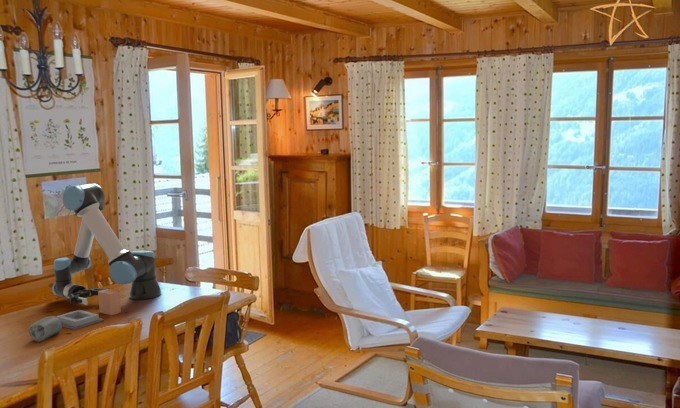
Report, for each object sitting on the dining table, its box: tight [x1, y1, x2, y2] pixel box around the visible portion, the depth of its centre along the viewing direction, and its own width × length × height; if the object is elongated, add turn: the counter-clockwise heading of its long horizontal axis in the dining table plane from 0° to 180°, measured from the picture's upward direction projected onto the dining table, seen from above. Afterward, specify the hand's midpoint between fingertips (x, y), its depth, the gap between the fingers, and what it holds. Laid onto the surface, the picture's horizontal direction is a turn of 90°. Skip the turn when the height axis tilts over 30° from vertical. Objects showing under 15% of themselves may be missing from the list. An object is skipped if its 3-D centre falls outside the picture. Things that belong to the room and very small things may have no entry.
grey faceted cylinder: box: [28, 315, 63, 343], centre depth 241 cm, size 14×10×10 cm
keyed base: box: [55, 309, 104, 331], centre depth 260 cm, size 14×17×3 cm
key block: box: [97, 288, 122, 316], centre depth 273 cm, size 5×9×10 cm, turn 55°
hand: (100, 298), depth 276 cm, fingers open, 13 cm apart
